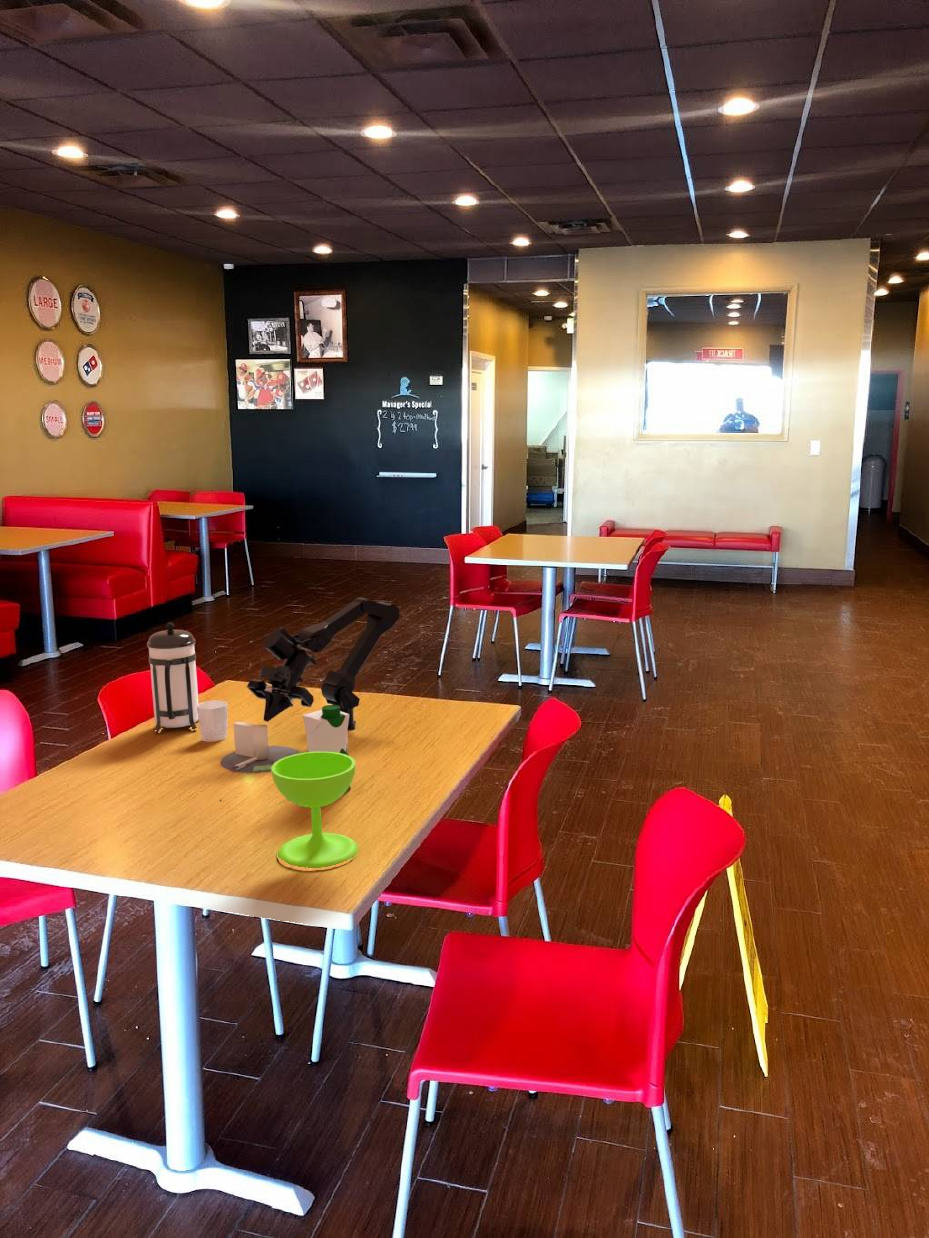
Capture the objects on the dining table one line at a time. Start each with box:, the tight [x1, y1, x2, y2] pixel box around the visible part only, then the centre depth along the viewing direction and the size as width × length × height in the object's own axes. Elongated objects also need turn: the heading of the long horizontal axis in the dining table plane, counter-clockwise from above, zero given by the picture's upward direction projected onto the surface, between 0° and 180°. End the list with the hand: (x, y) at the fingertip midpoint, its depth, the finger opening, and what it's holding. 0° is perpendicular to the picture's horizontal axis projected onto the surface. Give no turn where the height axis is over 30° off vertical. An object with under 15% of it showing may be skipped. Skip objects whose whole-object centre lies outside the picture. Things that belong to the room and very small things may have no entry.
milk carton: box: [301, 704, 352, 791], centre depth 218 cm, size 9×9×20 cm
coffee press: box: [146, 622, 199, 731], centre depth 265 cm, size 17×16×30 cm
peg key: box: [232, 721, 269, 769], centre depth 236 cm, size 10×12×8 cm
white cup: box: [197, 699, 229, 742], centre depth 256 cm, size 8×8×10 cm
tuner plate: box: [219, 745, 302, 774], centre depth 239 cm, size 20×20×1 cm
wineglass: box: [270, 751, 359, 868], centre depth 185 cm, size 16×16×18 cm
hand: (265, 720), depth 245 cm, fingers closed
